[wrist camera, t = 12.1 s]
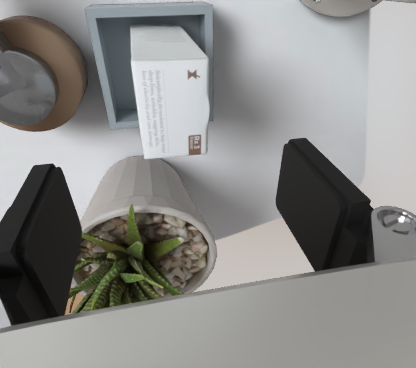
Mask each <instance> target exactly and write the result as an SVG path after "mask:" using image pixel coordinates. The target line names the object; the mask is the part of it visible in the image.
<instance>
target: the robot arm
mask: <svg viewBox="0 0 416 368" xmlns="http://www.w3.org/2000/svg"><path fill="white" fill-rule="evenodd" d="M301 1H302V2H303V3H304V4H305V5H306V6H308V7H309V8H311V9H312V10H314V11H316V12H318V13H321V14H324V15H329V16H334V17H345V16H352V15H355V14H359V13H362V12H364V11H366V10H368V9H370V8H372V7H374V6H375V5H377V4H378V3H380V2H381V1H382V0H301ZM387 1H398V2H408V3H416V0H387ZM370 202H371V200H370V199H369V198H368V197H367V196H366V195H365V194H364V193H362V192H361V191H360V190H359V189H358V188H357V187H356V186H355V185H354V184H353V183H352V182H351V181H350V180H349V179H348V178H347V177H346V176H345V175H344V174H343V173H342V172H341V171H340V170H339V169H338V168H336V167H335V166H334V165H333V164H332V163H331V162H330V161H329V160H328V159H327V158H326V157H325V156H324V155H323V154H322V153H321V152H320V151H319V150H318V149H317V148H316V147H315V146H314V145H313V144H312V143H310V142H309V141H308V140H307V139H306V138H299V139H290V140H289V142H288V143H287V144H285V145H284V148H283V155H282V161H281V168H280V175H279V181H278V188H277V195H276V206H277V209H278V210H279V212H280V214H281V215H282V217H283V219H284V220H285V222H286V224H287V225H288V227H289V229H290V230H291V232H292V234H293V235H294V237H295V238H296V240H297V242H298V244H299V245H300V247H301V249H302V250H303V252H304V254H305V255H306V257H307V259H308V260H309V262H310V263H311V265H312V267H313V269H314V270H315V272H310V273H304V274H298V275H292V276H286V277H280V278H274V279H268V280H262V281H256V282H250V283H245V284H240V285H233V286H227V287H221V288H216V289H211V290H205V291H198V292H193V293H187V294H181V295H176V296H170V297H164V298H159V299H153V300H147V301H142V302H136V303H131V304H125V305H119V306H114V307H108V308H103V309H97V310H91V311H86V312H80V313H75V314H70V315H65V310H66V306H67V301H68V297H69V292H70V287H71V283H72V279H73V274H74V269H75V265H76V260H77V256H78V251H79V246H80V242H81V237H82V227H81V223H80V221H79V218H78V215H77V212H76V209H75V206H74V203H73V200H72V197H71V194H70V192H69V189H68V186H67V183H66V180H65V177H64V174H63V171H62V169H61V168H60V167H55V165H54V164H43V165H34V166H33V168H32V169H31V171H30V173H29V175H28V177H27V178H26V180H25V182H24V184H23V186H22V187H21V189H20V191H19V193H18V195H17V196H16V198H15V200H14V202H13V204H12V205H11V207H9V209H8V210H7V211H6V213H5V215H4V217H3V219H2V220H1V222H0V368H416V215H414V214H412V213H411V212H408V211H406V210H404V209H401V208H397V207H392V206H380V207H378V208H375V209H373V208H372V207H371V206H370Z"/></svg>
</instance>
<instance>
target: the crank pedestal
mask: <svg viewBox="0 0 416 368" xmlns="http://www.w3.org/2000/svg"><path fill="white" fill-rule="evenodd" d="M0 29H1V31H2V32H3V34H4V35H5V36H6V38H7V39H8V40H9V42H10V43H11V44H12V46H13V47H18V48H22V49H26V50H28V51H31V52H33V53H35V54H36V55H38V56H39V57H41V58H42V59H43V60H44V61H45V62H46V63H47V64H48V65H49V66H50V67H51V68H52V70H53V71H54V73H55V75H56V77H57V80H58V83H59V97H58V100H57V102H56V104H55V105H54V107H53V108H52V110H51V111H50V113H49V114H48V116H47V117H46V118H45V119H43V120H42V121H40V122H38V123H36V124H33V125H27V126H18V125H12V124H8V123H5V122H3V121H0V122H1V123H3V124H5V125H8V126H10V127H13V128H16V129H19V130H24V131H33V132H37V131H47V130H51V129H55V128H57V127H59V126H61V125H63V124H64V123H66V122H67V121H68V120H69V119H70V118H71V117H72V116H73V115H74V113H75V112H76V110H77V108H78V106H79V104H80V101H81V99H82V97H83V95H84V93H85V90H86V87H87V82H88V72H87V66H86V63H85V59H84V57H83V55H82V53H81V51H80V49H79V48H78V46H77V45H76V44H75V42H74V41H73V40H72V39H71V38H70V37H69V36H68V35H67V34H66V33H65V32H64V31H63V30H61V29H60V28H58V27H57V26H55V25H54V24H52V23H50V22H48V21H45V20H43V19H40V18H36V17H31V16H14V17H10V18H6V19H3V20H0Z"/></svg>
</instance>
